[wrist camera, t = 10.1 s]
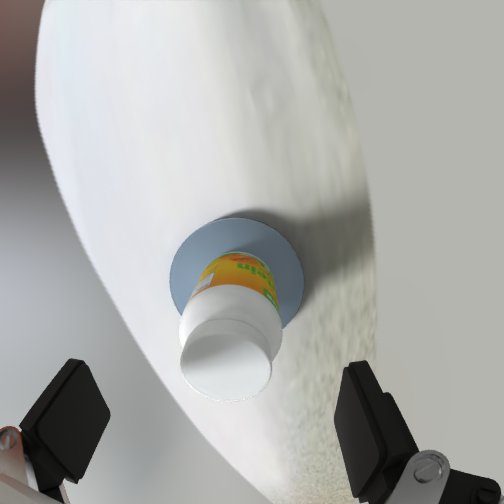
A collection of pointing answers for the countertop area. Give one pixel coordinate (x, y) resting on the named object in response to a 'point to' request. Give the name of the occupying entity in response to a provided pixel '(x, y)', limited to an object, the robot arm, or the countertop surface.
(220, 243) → the pale blue round plate
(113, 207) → the countertop surface
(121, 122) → the countertop surface
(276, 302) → the supplement bottle
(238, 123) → the countertop surface
